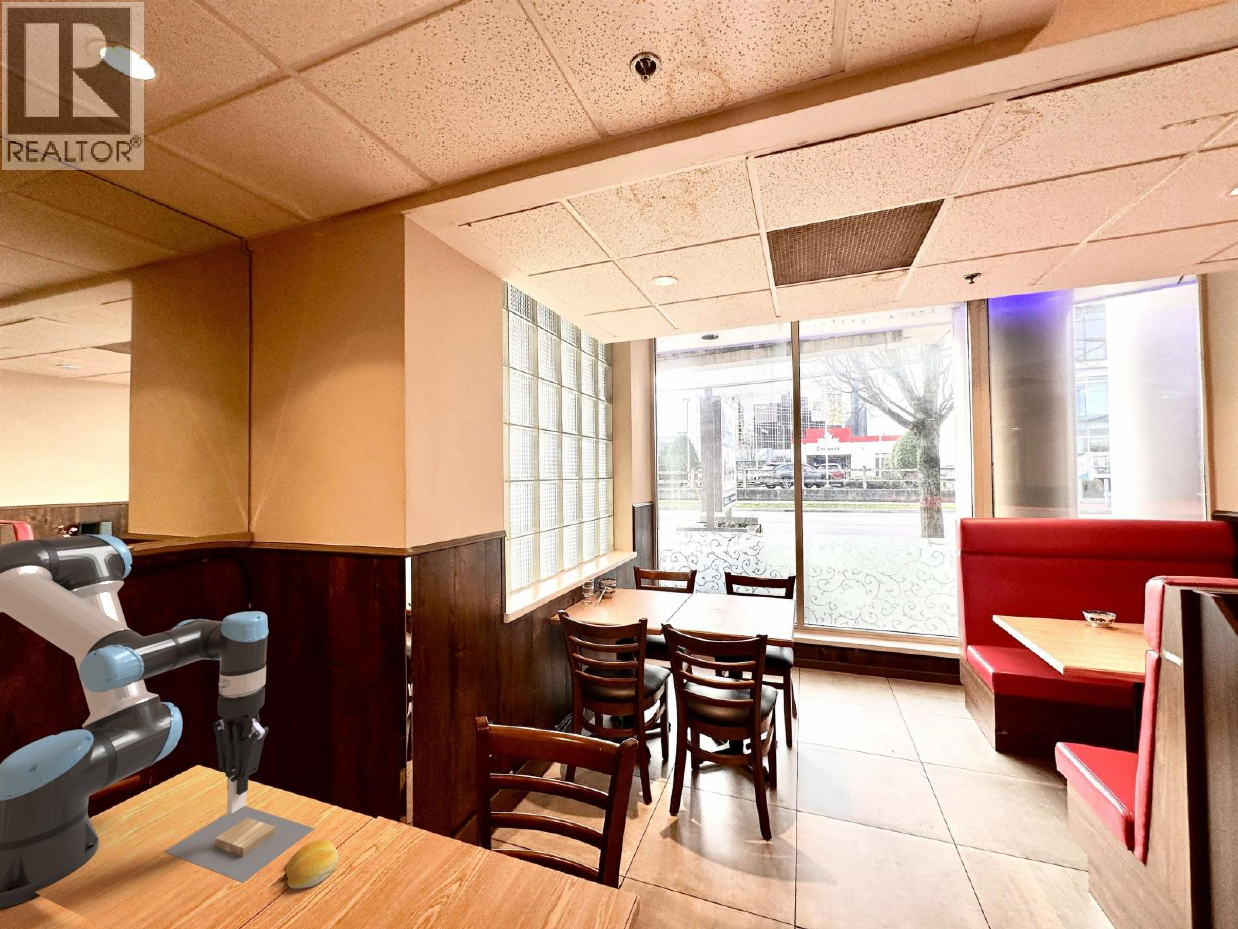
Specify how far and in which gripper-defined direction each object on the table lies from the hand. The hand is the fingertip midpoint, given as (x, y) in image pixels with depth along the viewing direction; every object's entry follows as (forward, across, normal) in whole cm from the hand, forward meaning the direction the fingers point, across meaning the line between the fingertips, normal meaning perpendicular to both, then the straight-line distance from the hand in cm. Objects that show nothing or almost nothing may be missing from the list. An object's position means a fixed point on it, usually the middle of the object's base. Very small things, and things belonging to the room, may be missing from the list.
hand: (236, 808), depth 95 cm
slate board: (+7, +2, 0) cm, 7 cm away
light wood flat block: (+5, -1, 0) cm, 5 cm away
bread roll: (+7, +21, 0) cm, 22 cm away
